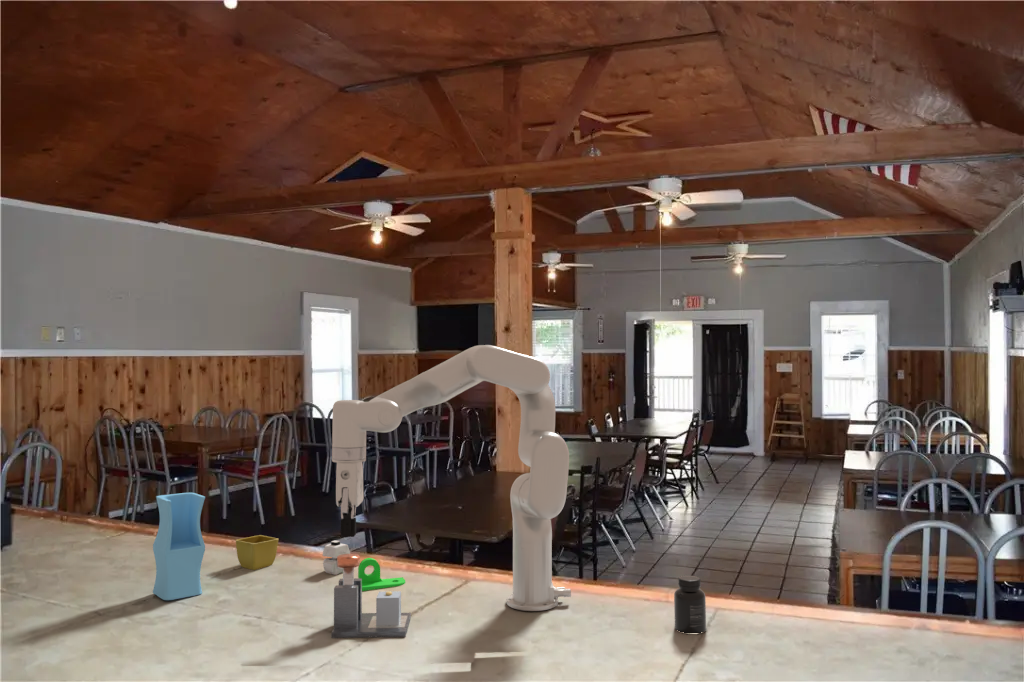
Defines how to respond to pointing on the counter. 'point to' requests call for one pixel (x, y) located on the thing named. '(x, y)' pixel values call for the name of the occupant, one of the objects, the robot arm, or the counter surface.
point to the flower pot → (256, 551)
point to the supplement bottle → (690, 605)
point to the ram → (348, 566)
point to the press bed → (360, 616)
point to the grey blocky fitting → (334, 556)
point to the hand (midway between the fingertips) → (348, 535)
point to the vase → (178, 546)
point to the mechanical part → (375, 577)
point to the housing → (388, 608)
